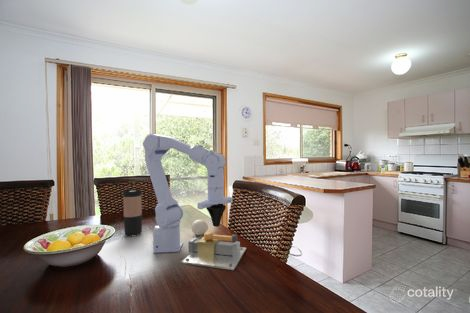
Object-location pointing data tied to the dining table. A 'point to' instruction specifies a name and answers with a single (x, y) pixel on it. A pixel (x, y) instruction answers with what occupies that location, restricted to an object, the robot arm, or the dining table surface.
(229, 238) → the lever
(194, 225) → the baseball
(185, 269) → the dining table surface
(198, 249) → the pipe valve
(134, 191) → the travel mug
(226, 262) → the mounting plate
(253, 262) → the dining table surface
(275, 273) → the dining table surface
